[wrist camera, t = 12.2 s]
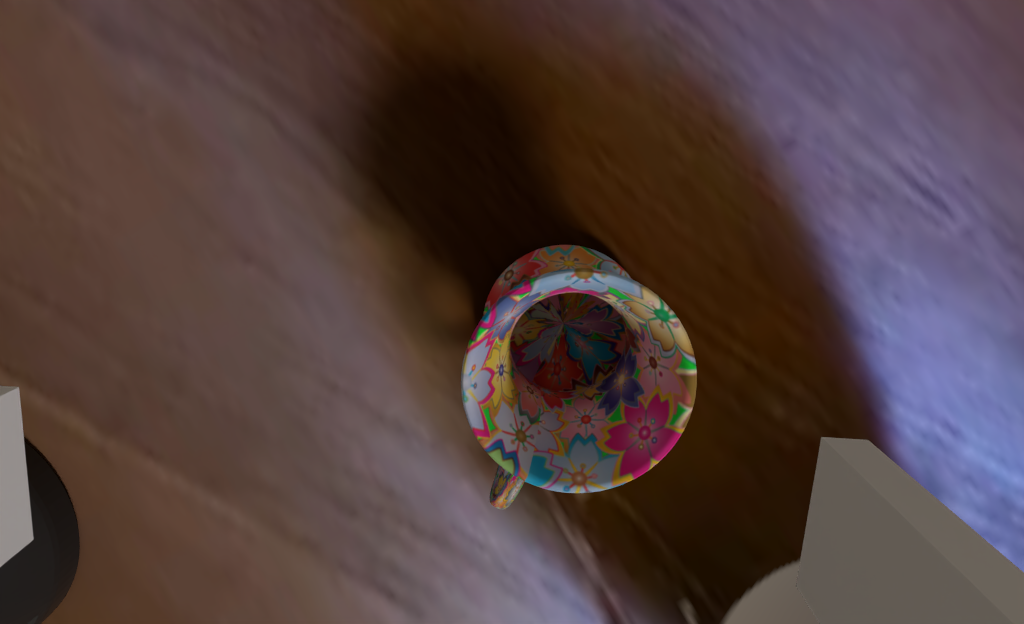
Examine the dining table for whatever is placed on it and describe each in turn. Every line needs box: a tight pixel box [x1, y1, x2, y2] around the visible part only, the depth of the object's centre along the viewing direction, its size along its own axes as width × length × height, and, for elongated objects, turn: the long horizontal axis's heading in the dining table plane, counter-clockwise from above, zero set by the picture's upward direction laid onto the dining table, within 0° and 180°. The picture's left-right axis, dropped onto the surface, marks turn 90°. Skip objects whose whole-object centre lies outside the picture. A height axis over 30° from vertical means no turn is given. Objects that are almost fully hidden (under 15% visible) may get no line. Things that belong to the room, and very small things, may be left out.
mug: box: [461, 245, 697, 509], centre depth 34 cm, size 12×9×11 cm
